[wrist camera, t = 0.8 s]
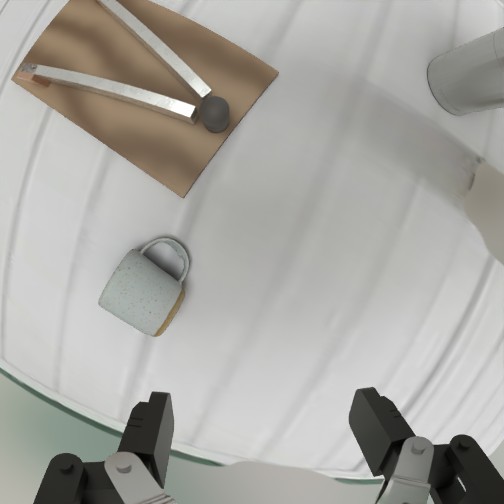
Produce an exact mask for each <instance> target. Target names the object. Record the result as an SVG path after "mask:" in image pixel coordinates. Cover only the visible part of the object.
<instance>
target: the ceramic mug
mask: <svg viewBox="0 0 504 504" xmlns="http://www.w3.org/2000/svg"><path fill="white" fill-rule="evenodd" d="M159 242H165V243H168V244H169V245H170V246H171V247H172V248H174V249H175V250H176V251H177V252H178V254H179V256H180V257H182V258H183V260H184V269H183V273H182V275H181V277H180V278H179V280H178V281H177V280H176V279H174V278H173V277H172V276H170V275H169V274H167V273H166V272H165V271H163V270H162V269H160V268H159V267H158V266H156V265H155V264H154V263H153V262H151V261H150V260H149V259H148V258H146V257H145V256H144V255H143V254H144V252H145V251H146V250H147V249H148V248H150V247H151V246H153V245H154V244H156V243H159ZM188 268H189V259H188V255H187V253H186V251H185V249H184V248H183V247H182V246H181V245H180V244H179V243H178V242H177V241H175V240H173V239H171V238H159V239H155V240H153V241H151V242H150V243H148V244H147V245H146V246H145V247H144V248H143V249H142V250H141V251H137V250H136V249H132V250H130V251H129V253H128V254H127V255H126V256H125V257H124V259H123V260H122V261H121V263H120V264H119V266H118V267H117V269H116V270H115V272H114V273H113V275H112V276H111V278H110V279H109V281H108V283H107V285H106V287H105V289H104V290H103V292H102V294H101V296H100V298H99V301H98V303H99V305H100V307H102V308H104V309H105V310H107V311H108V312H110V313H112V314H113V315H115V316H116V317H118V318H120V319H121V320H123V321H124V322H126V323H128V324H130V325H131V326H133V327H135V328H136V329H138V330H139V331H141V332H143V333H145V334H148V335H151V336H154V337H157V336H160V335H161V334H162V333H163V332H164V331H165V330H166V328H167V327H168V326H169V324H170V323H171V321H172V319H173V318H174V316H175V314H176V313H177V311H178V309H179V307H180V305H181V303H182V301H183V299H184V296H185V290H184V288H183V286H182V281H183V280H184V278H185V277H186V274H187V272H188Z"/></svg>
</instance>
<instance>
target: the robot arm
mask: <svg viewBox="0 0 504 504" xmlns="http://www.w3.org/2000/svg"><path fill="white" fill-rule="evenodd" d="M428 81H429V85H430V88H431V90H432V93H433V94H434V96H435V98H436V100H437V101H438V102H439V103H440V105H441V106H442V107H443V108H444V109H445V110H447V111H448V112H450V113H452V114H454V115H464V114H468V113H473V112H479V111H484V110H490V109H495V108H501V107H504V27H503V28H501V29H498V30H496V31H494V32H491V33H489V34H487V35H485V36H482V37H480V38H478V39H475V40H473V41H471V42H469V43H467V44H465V45H462V46H460V47H458V48H456V49H454V50H452V51H449V52H447V53H445V54H443V55H441V56H439V57H437V58H435V59H434V60H432V61H431V63H430V64H429V68H428ZM349 424H350V427H351V429H352V431H353V434H354V436H355V438H356V440H357V442H358V444H359V446H360V448H361V451H362V453H363V455H364V457H365V459H366V461H367V463H368V465H369V468H370V470H371V472H372V474H373V476H374V477H376V476H380V475H384V477H385V479H384V481H383V483H382V485H381V488H380V490H379V493H378V495H377V497H376V500H375V502H374V504H427V500H428V496H429V493H430V495H431V497H432V499H433V501H434V503H435V504H504V480H503V478H502V477H501V476H500V474H499V473H498V471H497V470H496V468H495V467H494V466H493V464H492V463H491V461H490V460H489V459H488V457H487V456H486V454H485V453H484V452H483V450H482V449H481V448H480V446H479V445H478V444H477V442H476V441H475V440H474V439H473V438H472V437H470V436H468V435H457V436H455V437H453V438H452V440H451V441H450V443H449V444H441V445H433V444H432V443H431V442H430V441H429V440H428V439H426V438H424V437H419V436H416V435H415V434H414V432H413V431H412V429H411V428H410V426H409V425H408V424H407V422H406V421H405V419H404V418H403V416H401V413H400V412H399V411H398V410H397V408H396V406H395V405H394V403H393V402H392V401H391V400H389V399H388V398H386V397H385V396H381V397H380V395H379V394H378V392H377V391H376V389H375V388H374V387H369V388H362V389H357V390H356V392H355V396H354V399H353V403H352V406H351V410H350V413H349ZM173 432H174V416H173V409H172V402H171V395H170V393H164V392H152V393H151V396H150V399H149V402H139V403H138V404H137V405H136V406H135V407H134V408H133V409H132V412H131V414H130V417H129V420H128V422H127V426H126V428H125V431H124V434H123V436H122V439H121V442H120V445H119V448H118V451H117V452H116V453H114V454H112V455H110V456H109V457H108V458H107V459H106V461H102V462H86V463H83V462H82V461H81V459H80V458H79V457H77V456H76V455H74V454H70V453H62V454H59V455H56V456H55V457H54V458H53V459H52V460H51V461H50V463H49V466H48V468H47V470H46V473H45V475H44V478H43V480H42V483H41V485H40V488H39V490H38V493H37V495H36V498H35V500H34V503H33V504H177V503H176V501H175V500H174V499H173V498H172V497H171V496H167V495H166V494H165V493H164V492H163V490H162V489H164V483H165V478H166V472H167V465H168V460H169V454H170V449H171V443H172V437H173ZM458 477H459V478H460V480H461V481H462V483H463V485H464V486H465V489H466V492H465V490H464V489H463V487H462V485H461V484H460V482H459V480H458Z"/></svg>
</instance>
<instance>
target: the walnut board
mask: <svg viewBox="0 0 504 504" xmlns="http://www.w3.org/2000/svg"><path fill="white" fill-rule="evenodd" d="M117 2H118V3H119V4H121V5H122V6H123V7H124V8H125V9H127V10H128V11H129V12H130V13H131V14H132V15H133V16H135V17H136V18H137V19H138V20H139V21H140V22H141V23H143V24H144V25H145V26H146V27H147V28H148V29H149V30H150V31H151V32H153V33H154V34H155V35H156V36H157V37H158V38H159V39H160V40H161V41H162V42H163V43H164V44H166V45H167V46H168V47H169V48H170V49H171V50H172V51H173V52H174V53H175V54H176V55H177V56H178V57H179V58H180V59H181V60H182V61H183V62H184V63H185V64H186V65H187V66H188V67H189V68H190V69H191V70H192V71H193V72H194V73H195V74H196V75H197V76H198V77H199V78H200V79H201V80H202V81H203V82H204V83H205V84H206V85H207V86H208V87H209V88H210V89H211V90H212V94H213V96H212V97H208V98H206V99H205V100H204V101H203V102H202V103H200V102H199V100H198V99H197V98H196V97H195V96H194V95H193V94H192V93H191V92H190V91H189V90H188V89H187V88H186V87H185V86H184V85H183V84H182V83H181V82H180V81H179V80H178V79H177V78H176V77H175V76H174V75H173V74H172V73H171V72H170V71H169V70H168V69H167V68H166V67H165V66H164V65H163V64H162V63H161V62H160V61H159V60H158V59H157V58H156V57H155V56H154V55H153V54H152V53H151V52H150V51H149V50H148V49H147V48H146V47H145V46H144V45H143V44H142V43H140V42H139V41H138V40H137V39H136V38H135V37H134V36H133V35H132V34H131V33H130V32H129V31H128V30H127V29H126V28H124V27H123V26H122V25H121V24H120V23H119V22H118V21H117V20H116V19H115V18H114V17H112V16H111V15H110V14H109V13H108V12H107V11H106V10H105V9H103V8H102V7H101V6H100V5H99V4H98V3H97V2H95V1H94V0H69V2H68V3H67V4H66V5H65V6H64V7H63V8H62V10H61V11H60V12H59V13H58V14H57V15H56V17H55V18H54V19H53V20H52V21H51V23H50V24H49V25H48V26H47V28H46V29H45V30H44V32H43V33H42V34H41V36H40V37H39V38H38V40H37V41H36V42H35V44H34V45H33V46H32V48H31V49H30V51H29V52H28V54H27V55H26V57H25V58H24V60H23V61H22V63H21V64H20V66H19V67H18V69H17V70H16V72H15V74H14V75H13V77H12V78H11V80H12V81H14V82H15V83H17V84H18V85H20V86H21V87H23V88H24V89H26V90H27V91H28V92H30V93H31V94H33V95H34V96H36V97H37V98H39V99H40V100H42V101H43V102H45V103H46V104H47V105H49V106H50V107H52V108H53V109H55V110H56V111H58V112H59V113H61V114H62V115H63V116H65V117H66V118H68V119H69V120H71V121H72V122H74V123H75V124H76V125H78V126H79V127H81V128H82V129H84V130H85V131H87V132H88V133H90V134H91V135H92V136H94V137H95V138H97V139H98V140H100V141H101V142H103V143H104V144H105V145H107V146H108V147H110V148H111V149H113V150H114V151H116V152H117V153H118V154H120V155H121V156H123V157H124V158H126V159H127V160H129V161H130V162H131V163H133V164H134V165H136V166H137V167H139V168H140V169H141V170H143V171H144V172H146V173H147V174H149V175H150V176H152V177H153V178H154V179H156V180H157V181H159V182H160V183H162V184H163V185H164V186H166V187H167V188H169V189H170V190H172V191H173V192H175V193H176V194H177V195H179V196H180V197H182V198H184V197H185V195H186V194H187V192H188V191H189V189H190V188H191V187H192V185H193V184H194V182H195V181H196V179H197V178H198V177H199V175H200V174H201V172H202V171H203V170H204V168H205V167H206V166H207V164H208V163H209V161H210V160H211V159H212V157H213V156H214V155H215V153H216V152H217V151H218V149H219V148H220V147H221V145H222V144H223V143H224V141H225V140H226V139H227V137H228V136H229V135H230V133H231V132H232V131H233V129H234V128H235V127H236V126H237V124H238V123H239V122H240V120H241V119H242V118H243V117H244V115H245V114H246V113H247V112H248V110H249V109H250V108H251V107H252V105H253V104H254V103H255V102H256V100H257V99H258V98H259V97H260V96H261V94H262V93H263V92H264V91H265V90H266V88H267V87H268V86H269V85H270V84H271V82H272V81H273V80H274V79H275V78H276V77H277V75H278V73H279V72H278V71H276V70H275V69H273V68H272V67H270V66H269V65H267V64H266V63H264V62H263V61H261V60H260V59H258V58H257V57H255V56H253V55H252V54H250V53H249V52H247V51H245V50H244V49H242V48H240V47H239V46H237V45H235V44H234V43H232V42H230V41H229V40H227V39H225V38H223V37H222V36H220V35H218V34H216V33H214V32H213V31H211V30H209V29H207V28H205V27H203V26H201V25H199V24H198V23H196V22H194V21H192V20H190V19H188V18H186V17H184V16H182V15H180V14H177V13H175V12H173V11H171V10H169V9H167V8H164V7H162V6H160V5H158V4H155V3H153V2H151V1H148V0H117ZM23 62H24V63H31V64H37V65H43V66H49V67H54V68H59V69H64V70H69V71H74V72H78V73H83V74H87V75H92V76H96V77H100V78H104V79H108V80H112V81H115V82H119V83H123V84H126V85H130V86H134V87H137V88H140V89H144V90H147V91H150V92H154V93H157V94H160V95H163V96H166V97H169V98H172V99H175V100H178V101H181V102H184V103H187V104H190V105H193V106H195V107H196V109H197V112H198V114H199V116H198V118H197V121H196V123H195V125H193V124H191V123H188V122H185V121H182V120H180V119H177V118H174V117H171V116H168V115H165V114H162V113H159V112H156V111H153V110H150V109H147V108H144V107H141V106H138V105H134V104H131V103H128V102H125V101H121V100H118V99H115V98H111V97H108V96H104V95H100V94H97V93H93V92H89V91H85V90H82V89H78V88H74V87H70V86H65V85H61V84H57V83H52V82H50V83H49V85H48V87H43V86H38V85H34V84H31V83H29V82H26V81H24V80H22V79H20V78H17V75H18V72H19V70H20V68H21V66H22V64H23Z"/></svg>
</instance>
